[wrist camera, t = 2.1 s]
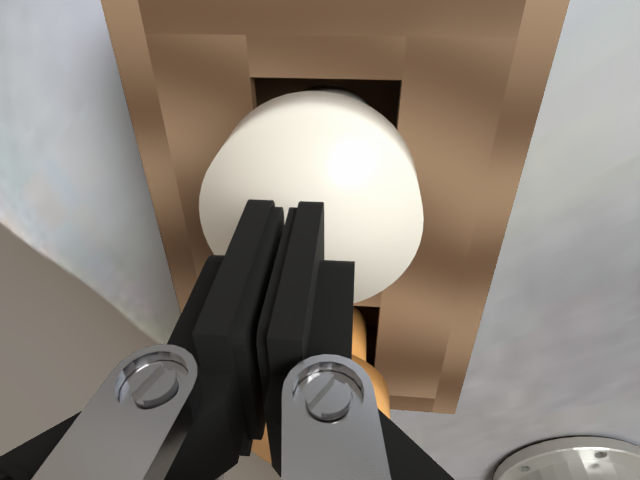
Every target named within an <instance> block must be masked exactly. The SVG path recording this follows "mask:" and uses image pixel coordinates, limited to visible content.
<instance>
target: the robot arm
mask: <svg viewBox="0 0 640 480" xmlns="http://www.w3.org/2000/svg"><path fill="white" fill-rule="evenodd" d="M354 275H355V261H335V260H324V202H309V201H299V203H298V207H290V208H289V210H288V214H287V218H286V222H285V224H284V210H283V207H275V203H274V201H273V200H254V199H249V200H248V201H247V203H246V206H245V208H244V210H243V213H242V215H241V218H240V220H239V222H238V225H237V227H236V229H235V232H234V234H233V237H232V239H231V241H230V244H229V246H228V249H227V251H226V253H225V255H210V256H209V257H208V258H207V260H206V262H205V264H204V266H203V268H202V270H201V272H200V275H199V277H198V279H197V281H196V283H195V285H194V287H193V290H192V292H191V294H190V296H189V298H188V300H187V303H186V305H185V307H184V309H183V311H182V313H181V315H180V318H179V320H178V322H177V324H176V326H175V328H174V330H173V333H172V335H171V337H170V339H169V341H168V343H167V344H159V345H154V346H148V347H146V348H143V349H141V350H138V351H136V352H134V353H132V354H131V355H129V356H128V357H126V358H125V359H123V360H122V361H121V362H120V363H119V364H118V365H117V366H116V367H115V368H114V369H113V370H112V372H111V373H110V374H109V376H108V377H107V378H106V380H105V381H104V382H103V384H102V385H101V386H100V388H99V389H98V391H97V392H96V393H95V394H94V396H93V397H92V398H91V400H90V401H89V403H88V404H87V405H86V407H85V408H84V409H83V411H81V412H79V413H77V414H76V415H74V416H72V417H70V418H68V419H67V420H65V421H63V422H61V423H60V424H58V425H56V426H54V427H52V428H50V429H49V430H47V431H45V432H43V433H42V434H40V435H38V436H36V437H35V438H33V439H31V440H29V441H27V442H25V443H24V444H22V445H20V446H18V447H17V448H15V449H13V450H11V451H9V452H8V453H6V454H4V455H2V456H0V480H223V478H224V473H225V472H227V471H228V470H229V469H230V468H232V467H233V466H234V465H236V464H237V463H238V459H239V455H241V456H250V452H251V448H252V443H253V440H262V438H263V435H264V430H265V425H266V426H267V433H268V441H269V448H270V455H271V462H272V466H273V468H274V469H275V471H276V472H277V473H278V475H279V476H280V477H281V480H454V479H453V478H452V477H451V476H450V475H449V474H448V473H447V472H446V471H445V470H444V469H443V468H442V467H440V466H439V465H438V464H437V463H436V462H435V461H434V460H433V459H432V458H431V457H430V456H429V455H428V454H427V453H425V452H424V451H423V450H422V449H421V448H420V447H419V446H418V445H417V444H416V443H415V442H414V441H413V440H412V439H410V438H409V437H408V436H407V435H406V434H405V433H404V432H403V431H402V430H401V429H400V428H399V427H398V426H397V425H395V424H394V423H393V422H392V421H391V420H390V419H389V418H388V417H387V416H386V415H385V414H384V413H383V412H382V411H380V410H379V409H378V408H377V402H376V397H375V392H374V387H373V385H372V382H371V379H370V377H369V375H368V374H367V373H366V372H365V370H364V369H363V368H362V367H361V366H360V365H358V364H357V363H355V362H354V361H352V335H353V305H354ZM493 480H640V447H638V446H635V445H632V444H630V443H627V442H624V441H620V440H616V439H611V438H603V437H568V438H559V439H554V440H549V441H544V442H541V443H538V444H535V445H531V446H529V447H526V448H524V449H522V450H520V451H518V452H516V453H514V454H513V455H511V456H510V457H508V458H507V459H506V460H505V461H504V462H503V463H502V464H500V465H499V467H498V468H497V470H496V472H495V473H494V477H493Z"/></svg>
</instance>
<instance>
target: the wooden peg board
mask: <svg viewBox="0 0 640 480" xmlns="http://www.w3.org/2000/svg"><path fill="white" fill-rule="evenodd" d="M569 1H570V0H101V4H102V8H103V12H104V15H105V19H106V23H107V27H108V31H109V35H110V39H111V43H112V47H113V51H114V54H115V58H116V62H117V66H118V70H119V74H120V78H121V82H122V86H123V90H124V93H125V97H126V101H127V105H128V109H129V113H130V117H131V121H132V125H133V129H134V132H135V136H136V140H137V144H138V148H139V152H140V156H141V160H142V164H143V168H144V172H145V175H146V179H147V183H148V187H149V191H150V195H151V199H152V203H153V207H154V211H155V214H156V218H157V222H158V226H159V230H160V234H161V238H162V242H163V246H164V250H165V253H166V257H167V261H168V265H169V269H170V273H171V277H172V281H173V285H174V289H175V292H176V296H177V300H178V304H179V308H180V312H181V313H182V311H183V309H184V307H185V305H186V303H187V300H188V298H189V296H190V294H191V292H192V290H193V287H194V285H195V283H196V281H197V279H198V277H199V275H200V272H201V270H202V268H203V266H204V264H205V262H206V260H207V258H208V257H209V256H210V255H214V253H213V252H212V250H211V248H210V247H209V245H208V243H207V240H206V238H205V235H204V233H203V229H202V226H201V222H200V214H199V196H200V191H201V186H202V182H203V180H204V177H205V174H206V172H207V170H208V168H209V166H210V165H211V163H212V161H213V159H214V158H215V156H216V155H217V154H218V152H219V151H220V149H221V148H222V146H223V145H224V143H225V142H226V140H227V139H228V137H229V136H230V134H231V133H232V131H233V130H234V129H235V127H236V126H237V125H238V124H239V122H240V121H241V120H242V119H243V118H244V117H245V116H246V115H248V114H249V113H250V112H251V111H252V110H254V109H255V108H257V107H258V106H260V105H261V104H263V103H265V102H267V101H269V100H271V99H273V98H276V97H279V96H282V95H285V94H289V93H295V92H300V91H303V90H305V89H308V88H311V87H315V86H324V85H329V86H337V87H342V88H345V89H347V90H350V91H352V92H353V93H355V94H357V95H358V96H360V97H361V98H362V99H363V100H364V101H365V102H367V104H368V105H369V106H370V107H372V108H373V109H375V110H376V111H377V112H379V113H380V114H382V115H383V116H384V117H385V118H386V119H387V120H388V121H389V122H391V123H392V124H393V125H394V127H395V128H396V129H397V130H398V132H399V133H400V134H401V135H402V137H403V139H404V140H405V142H406V144H407V145H408V147H409V150H410V152H411V155H412V157H413V160H414V164H415V168H416V173H417V178H418V184H419V189H420V195H421V200H422V206H423V217H424V221H423V232H422V237H421V241H420V245H419V247H418V250H417V252H416V255H415V256H414V258H413V260H412V261H411V263H410V265H409V266H408V267H407V269H406V270H405V271H404V272H403V274H402V275H401V276H400V277H399V278H398V279H397V280H396V281H395V282H394V283H392V284H391V285H390V286H388V287H387V288H386V289H384V290H383V291H381V292H379V293H378V294H376V295H374V296H372V297H370V298H367V299H365V300H363V301H360V302H357V303H354V305H353V306H354V307H355V308H357V309H358V310H359V311H360V312H361V314H362V315H363V317H364V319H365V321H366V329H367V330H366V362H367V363H369V364H370V365H372V366H373V367H374V368H375V369H376V370H377V371H378V372H379V373H380V374H381V375H382V377H383V378H384V380H385V381H386V384H387V386H388V389H389V399H390V409H396V410H409V411H422V412H435V413H448V414H455V411H456V407H457V403H458V400H459V396H460V393H461V389H462V386H463V382H464V378H465V375H466V371H467V368H468V364H469V360H470V357H471V353H472V350H473V346H474V342H475V339H476V335H477V332H478V328H479V324H480V321H481V317H482V314H483V310H484V306H485V303H486V299H487V296H488V292H489V289H490V285H491V281H492V278H493V274H494V271H495V267H496V263H497V260H498V256H499V253H500V249H501V245H502V242H503V238H504V235H505V231H506V227H507V224H508V220H509V217H510V213H511V210H512V206H513V202H514V199H515V195H516V192H517V188H518V184H519V181H520V177H521V174H522V170H523V166H524V163H525V159H526V156H527V152H528V148H529V145H530V141H531V138H532V134H533V131H534V127H535V123H536V120H537V116H538V113H539V109H540V105H541V102H542V98H543V95H544V91H545V87H546V84H547V80H548V77H549V73H550V69H551V66H552V62H553V59H554V55H555V52H556V48H557V44H558V41H559V37H560V34H561V30H562V26H563V23H564V19H565V16H566V12H567V8H568V5H569Z"/></svg>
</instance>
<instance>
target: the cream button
mask: <svg viewBox="0 0 640 480" xmlns="http://www.w3.org/2000/svg"><path fill="white" fill-rule="evenodd" d="M249 199H254V200H273V201H274V203H275V207H283V210H284V224H285V222H286V218H287V214H288V210H289V208H290V207H298V203H299V201H309V202H324V260H335V261H355V275H354V303H357V302H360V301H363V300H365V299H367V298H370V297H372V296H374V295H376V294H378V293H379V292H381V291H383V290H384V289H386V288H387V287H388V286H390V285H391V284H392V283H394V282H395V281H396V280H397V279H398V278H399V277H400V276H401V275H402V274H403V272H404V271H405V270H406V269H407V267H408V266H409V265H410V263H411V261H412V260H413V258H414V256H415V255H416V252H417V250H418V247H419V245H420V241H421V237H422V232H423V221H424V217H423V206H422V200H421V195H420V189H419V184H418V178H417V173H416V168H415V164H414V160H413V157H412V155H411V152H410V150H409V147H408V145H407V144H406V142H405V140H404V139H403V137H402V135H401V134H400V133H399V132H398V130H397V129H396V128H395V127H394V125H393V124H392V123H391V122H389V121H388V120H387V119H386V118H385V117H384V116H383V115H382V114H380V113H379V112H377V111H376V110H375V109H373V108H372V107H370V106H369V105H368V104H367V102H365V101H364V100H363V99H362V98H361V97H360V96H358V95H357V94H355V93H353V92H352V91H350V90H347V89H345V88H342V87H337V86H329V85H324V86H315V87H311V88H308V89H305V90H303V91H300V92H295V93H289V94H285V95H282V96H279V97H276V98H273V99H271V100H269V101H267V102H265V103H263V104H261V105H260V106H258V107H257V108H255V109H254V110H252V111H251V112H250V113H249V114H248V115H246V116H245V117H244V118H243V119H242V120H241V121H240V122H239V124H238V125H237V126H236V127H235V129H234V130H233V131H232V133H231V134H230V136H229V137H228V139H227V140H226V142H225V143H224V145H223V146H222V148H221V149H220V151H219V152H218V154H217V155H216V156H215V158H214V159H213V161H212V163H211V165H210V166H209V168H208V170H207V172H206V174H205V177H204V180H203V182H202V186H201V191H200V196H199V214H200V222H201V226H202V229H203V233H204V235H205V238H206V240H207V243H208V245H209V247H210V248H211V250H212V252H213V253H214V255H225V253H226V251H227V249H228V246H229V244H230V241H231V239H232V237H233V234H234V232H235V229H236V227H237V225H238V222H239V220H240V218H241V215H242V213H243V210H244V208H245V206H246V203H247V201H248V200H249Z"/></svg>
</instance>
